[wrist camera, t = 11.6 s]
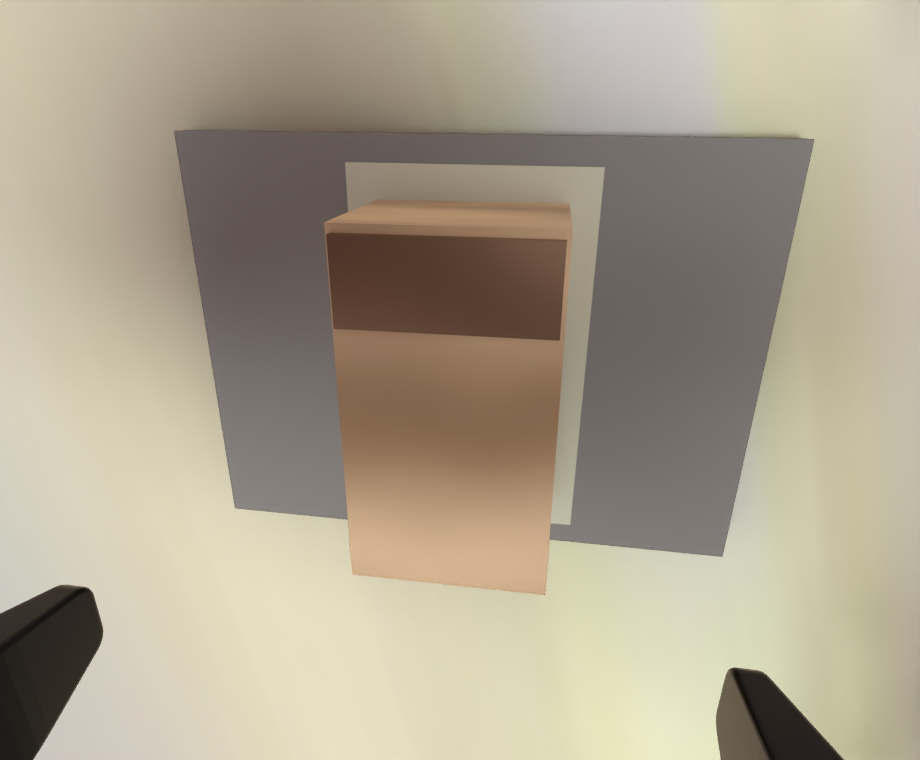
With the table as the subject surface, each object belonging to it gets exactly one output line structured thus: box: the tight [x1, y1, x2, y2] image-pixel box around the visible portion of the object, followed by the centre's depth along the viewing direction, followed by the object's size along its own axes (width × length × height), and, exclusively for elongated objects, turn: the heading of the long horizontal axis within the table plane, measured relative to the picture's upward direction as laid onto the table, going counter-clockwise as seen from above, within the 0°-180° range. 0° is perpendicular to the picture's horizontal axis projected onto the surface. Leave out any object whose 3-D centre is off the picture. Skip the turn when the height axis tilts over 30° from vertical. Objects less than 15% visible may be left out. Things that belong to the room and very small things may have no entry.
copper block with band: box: [324, 199, 573, 595], centre depth 16 cm, size 9×5×4 cm, turn 0°
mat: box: [174, 130, 814, 557], centre depth 18 cm, size 16×12×1 cm
